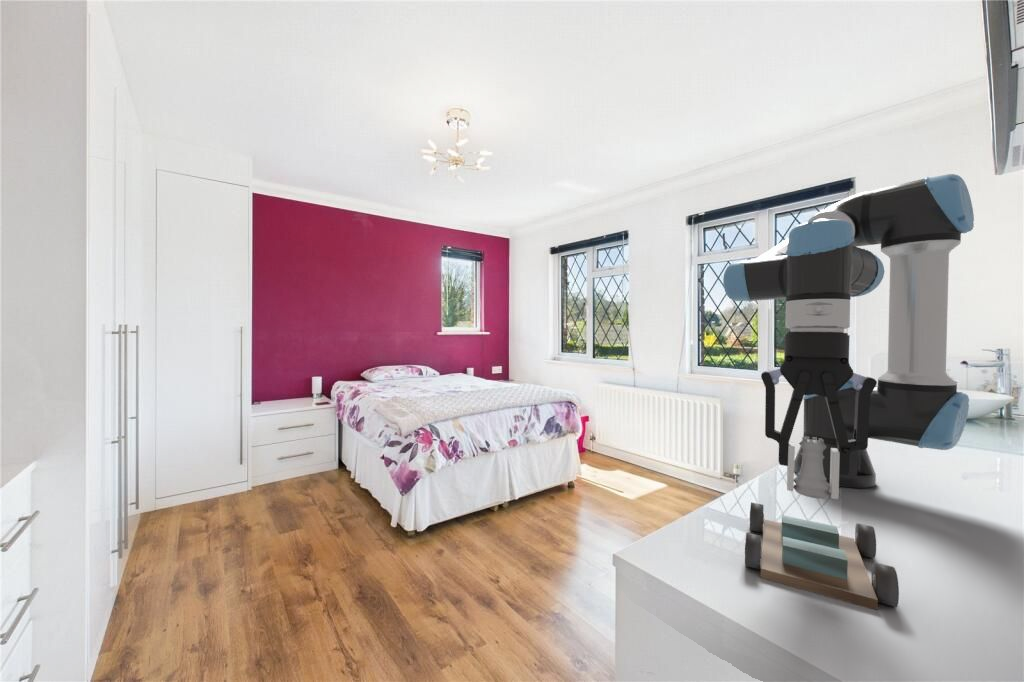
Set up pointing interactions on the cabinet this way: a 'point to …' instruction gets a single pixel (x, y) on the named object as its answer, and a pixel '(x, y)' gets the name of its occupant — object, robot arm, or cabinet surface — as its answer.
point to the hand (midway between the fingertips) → (811, 491)
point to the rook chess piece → (812, 470)
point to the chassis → (820, 559)
